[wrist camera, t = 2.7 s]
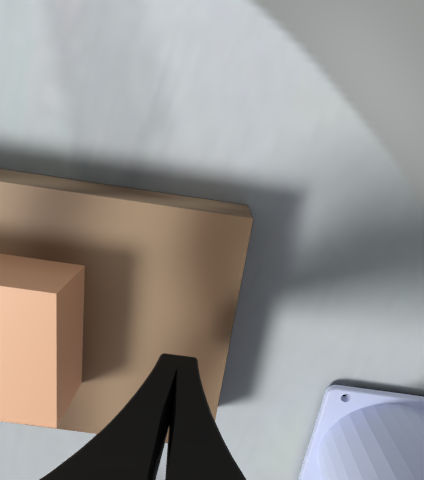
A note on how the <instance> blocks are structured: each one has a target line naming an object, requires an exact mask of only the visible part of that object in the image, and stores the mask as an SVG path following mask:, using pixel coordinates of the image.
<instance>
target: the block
mask: <svg viewBox="0 0 424 480" xmlns="http://www.w3.org/2000/svg"><path fill="white" fill-rule="evenodd" d="M84 279H85V266H84V265H77V264H70V263H62V262H55V261H48V260H41V259H34V258H27V257H20V256H13V255H6V254H0V421H4V422H12V423H20V424H28V425H35V426H43V427H51V428H57V427H58V425H59V423H60V421H61V419H62V418H63V416H64V414H65V412H66V410H67V409H68V407H69V405H70V403H71V401H72V399H73V398H74V396H75V394H76V392H77V390H78V389H79V387H80V385H81V383H82V352H83V315H84Z"/></svg>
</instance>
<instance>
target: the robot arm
mask: <svg viewBox="0 0 424 480" xmlns="http://www.w3.org/2000/svg"><path fill="white" fill-rule="evenodd" d="M344 394H347V395H346V396H343V397H342V395H344ZM168 428H169V436H168V450H167V465H166V479H165V480H246V478H245V477H244V475H243V474H242V472H241V470H240V469H239V467H238V466H237V464H236V462H235V461H234V459H233V457H232V455H231V454H230V452H229V450H228V448H227V446H226V444H225V442H224V440H223V438H222V436H221V434H220V432H219V430H218V428H217V425H216V423H215V421H214V418H213V416H212V413H211V411H210V408H209V405H208V402H207V399H206V396H205V393H204V390H203V386H202V383H201V378H200V374H199V368H198V360H197V359H196V358H195V357H189V356H181V355H173V354H166V353H163V354H162V355H160V357H159V359H158V361H157V363H156V365H155V366H154V368H153V370H152V371H151V373H150V374H149V376H148V377H147V379H146V380H145V381H144V383H143V384H142V385H141V387H140V388H139V389H138V391H137V392H136V393H135V395H134V396H133V397H132V398H131V399H130V400H129V402H128V403H127V404H126V405H125V406H124V408H123V409H122V410H121V411H120V412H119V413H118V414H117V415H116V416H115V417H114V418H113V419H112V421H111V422H110V423H109V424H108V425H107V426H106V427H105V428H103V429H102V430H101V431H100V432H99V433H98V434H97V435H96V436H95V437H94V438H93V439H92V440H90V441H89V442H88V443H87V444H86V445H85V446H84V447H82V448H81V449H80V450H79V451H78V452H76V453H75V454H74V455H72V456H71V457H70V458H69V459H67V460H66V461H65V462H63V463H62V464H61V465H59V466H58V467H57V468H56V469H54V470H53V471H51V472H50V473H49V474H47V475H46V476H44V477H43V478H41V479H40V480H155V479H156V475H157V471H158V467H159V463H160V460H161V456H162V452H163V448H164V444H165V440H166V436H167V432H168ZM298 480H424V397H423V396H416V395H409V394H401V393H394V392H386V391H379V390H372V389H364V388H357V387H349V386H342V385H332V386H329V387H328V388H327V389H326V391H325V394H324V398H323V401H322V404H321V407H320V410H319V414H318V417H317V420H316V423H315V426H314V430H313V433H312V436H311V439H310V442H309V446H308V449H307V452H306V455H305V458H304V462H303V465H302V468H301V471H300V474H299V478H298Z"/></svg>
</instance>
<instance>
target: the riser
mask: <svg viewBox="0 0 424 480" xmlns="http://www.w3.org/2000/svg"><path fill="white" fill-rule="evenodd" d="M252 223H253V217H252V214H251V212H250V209H249V207H248V205H242V204H235V203H228V202H222V201H215V200H208V199H201V198H195V197H188V196H181V195H174V194H167V193H161V192H154V191H147V190H140V189H134V188H127V187H120V186H113V185H107V184H100V183H93V182H86V181H80V180H73V179H66V178H59V177H53V176H46V175H39V174H32V173H26V172H19V171H12V170H5V169H0V254H6V255H13V256H20V257H27V258H34V259H41V260H48V261H55V262H62V263H70V264H77V265H84V266H85V279H84V315H83V352H82V383H81V385H80V387H79V389H78V390H77V392H76V394H75V396H74V398H73V399H72V401H71V403H70V405H69V407H68V409H67V410H66V412H65V414H64V416H63V418H62V419H61V421H60V423H59V425H58V427H57V428H56V429H64V430H72V431H80V432H87V433H95V434H98V433H99V432H100V431H101V430H102V429H103V428H105V427H106V426H107V425H108V424H109V423H110V422H111V421H112V419H113V418H114V417H115V416H116V415H117V414H118V413H119V412H120V411H121V410H122V409H123V408H124V406H125V405H126V404H127V403H128V402H129V400H130V399H131V398H132V397H133V396H134V395H135V393H136V392H137V391H138V389H139V388H140V387H141V385H142V384H143V383H144V381H145V380H146V379H147V377H148V376H149V374H150V373H151V371H152V370H153V368H154V366H155V365H156V363H157V361H158V359H159V357H160V355H162V354H163V353H166V354H173V355H181V356H189V357H195V358H196V359H197V360H198V368H199V374H200V378H201V383H202V386H203V390H204V393H205V396H206V399H207V402H208V405H209V408H210V411H211V413H212V416H213V418H214V421H215V418H216V412H217V407H218V402H219V397H220V391H221V386H222V381H223V375H224V370H225V365H226V360H227V354H228V349H229V344H230V339H231V333H232V328H233V323H234V318H235V312H236V307H237V302H238V297H239V291H240V286H241V281H242V276H243V270H244V265H245V260H246V255H247V249H248V244H249V239H250V233H251V228H252ZM2 422H4V421H2ZM10 423H12V422H10ZM18 424H20V423H18ZM25 425H28V424H25ZM33 426H35V425H33ZM41 427H43V426H41ZM49 428H51V427H49ZM168 436H169V428H168V432H167V436H166V440H165V443H168Z"/></svg>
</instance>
